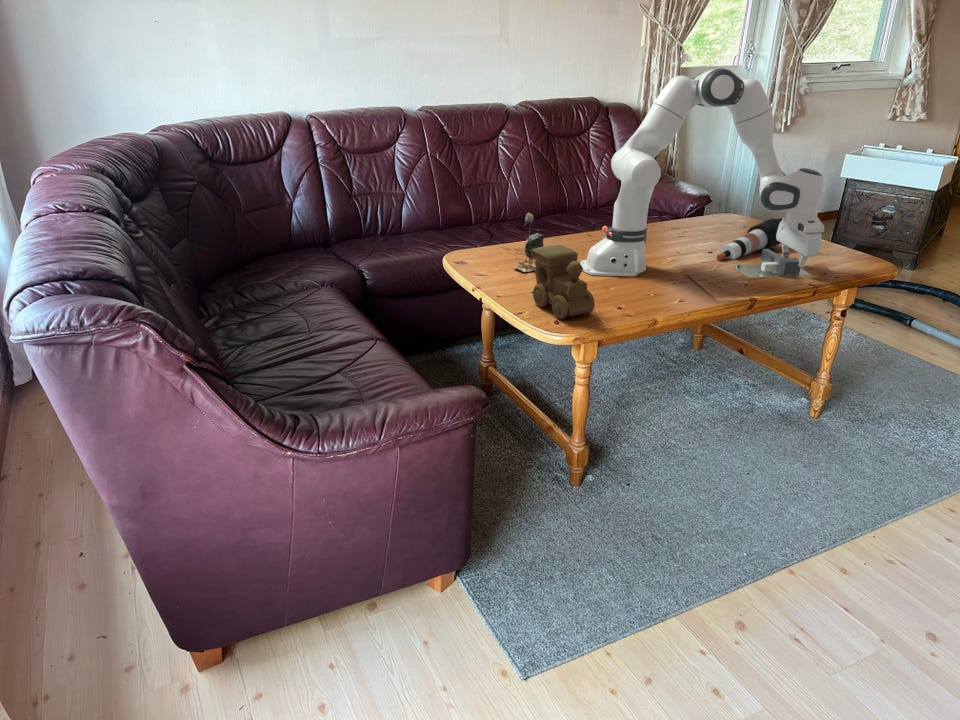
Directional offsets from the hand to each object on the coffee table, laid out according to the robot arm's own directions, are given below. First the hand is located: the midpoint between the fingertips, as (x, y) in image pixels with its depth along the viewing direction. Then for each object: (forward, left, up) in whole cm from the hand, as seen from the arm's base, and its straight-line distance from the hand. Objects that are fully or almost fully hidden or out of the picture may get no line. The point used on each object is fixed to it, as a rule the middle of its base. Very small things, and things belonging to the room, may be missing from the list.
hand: (792, 261), depth 224 cm
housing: (-6, +2, -4) cm, 8 cm away
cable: (-5, +23, -5) cm, 23 cm away
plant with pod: (-86, +16, -5) cm, 87 cm away
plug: (-4, 0, -3) cm, 5 cm away
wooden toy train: (-83, -22, -5) cm, 86 cm away
